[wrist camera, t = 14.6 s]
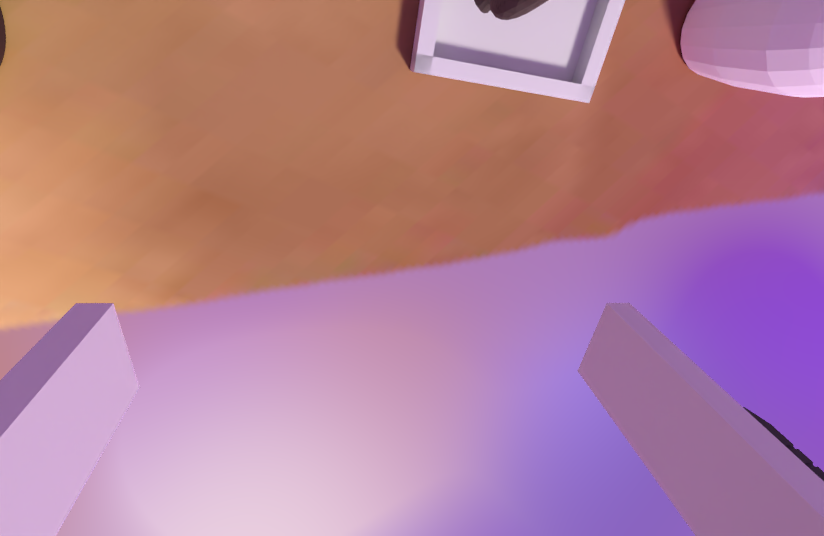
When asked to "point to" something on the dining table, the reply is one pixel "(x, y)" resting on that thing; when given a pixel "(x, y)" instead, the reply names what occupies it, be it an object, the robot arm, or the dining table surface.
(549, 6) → the tray
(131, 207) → the dining table surface
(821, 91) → the bottle
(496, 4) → the beer stein
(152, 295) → the dining table surface
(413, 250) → the dining table surface
